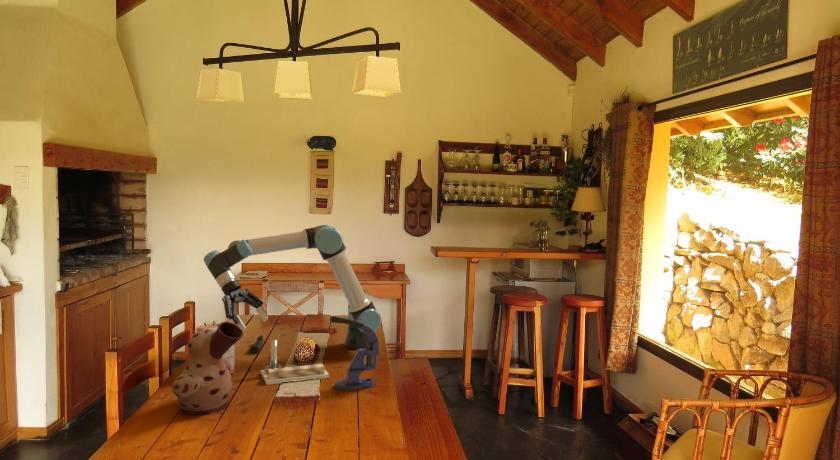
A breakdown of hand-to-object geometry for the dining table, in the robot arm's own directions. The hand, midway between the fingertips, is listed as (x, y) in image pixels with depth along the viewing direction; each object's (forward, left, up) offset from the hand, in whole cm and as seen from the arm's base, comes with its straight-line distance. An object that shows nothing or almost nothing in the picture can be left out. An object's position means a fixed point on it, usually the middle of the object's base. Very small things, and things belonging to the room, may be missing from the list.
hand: (255, 325), depth 240 cm
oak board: (-14, +17, -18) cm, 29 cm away
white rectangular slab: (-14, +13, -19) cm, 27 cm away
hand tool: (-5, -32, -20) cm, 38 cm away
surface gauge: (-6, +11, -18) cm, 22 cm away
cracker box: (+16, +3, -19) cm, 25 cm away
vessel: (+20, +36, -19) cm, 46 cm away
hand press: (-33, +33, -19) cm, 51 cm away
